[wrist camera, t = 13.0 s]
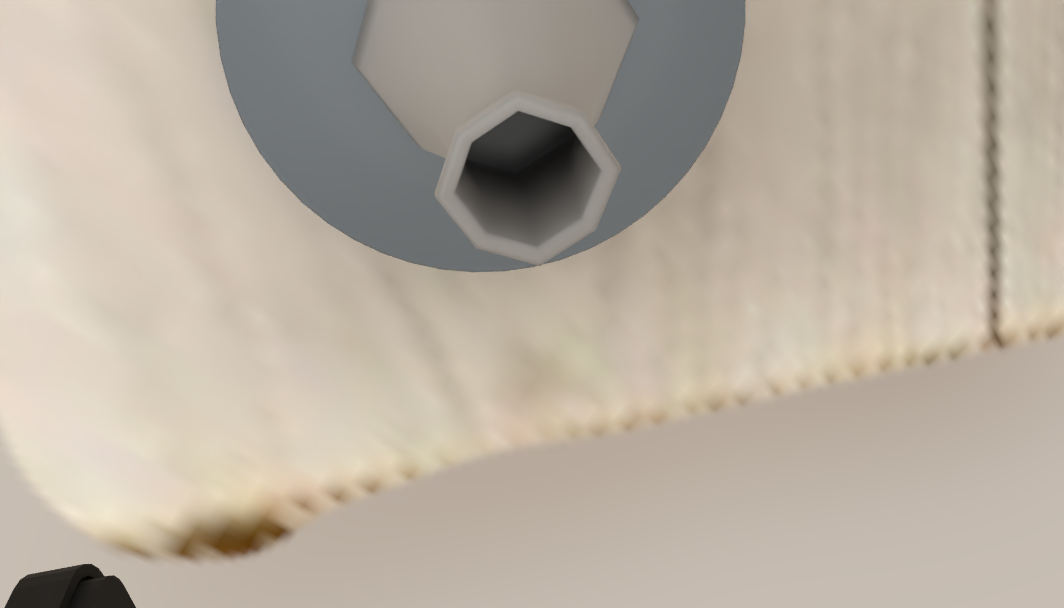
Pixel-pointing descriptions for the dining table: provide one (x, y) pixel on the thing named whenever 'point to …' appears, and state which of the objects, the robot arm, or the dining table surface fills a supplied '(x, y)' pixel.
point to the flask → (505, 109)
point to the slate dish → (413, 173)
